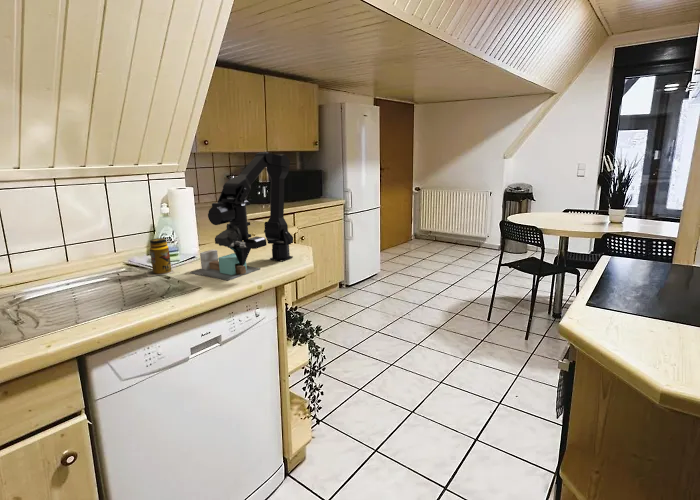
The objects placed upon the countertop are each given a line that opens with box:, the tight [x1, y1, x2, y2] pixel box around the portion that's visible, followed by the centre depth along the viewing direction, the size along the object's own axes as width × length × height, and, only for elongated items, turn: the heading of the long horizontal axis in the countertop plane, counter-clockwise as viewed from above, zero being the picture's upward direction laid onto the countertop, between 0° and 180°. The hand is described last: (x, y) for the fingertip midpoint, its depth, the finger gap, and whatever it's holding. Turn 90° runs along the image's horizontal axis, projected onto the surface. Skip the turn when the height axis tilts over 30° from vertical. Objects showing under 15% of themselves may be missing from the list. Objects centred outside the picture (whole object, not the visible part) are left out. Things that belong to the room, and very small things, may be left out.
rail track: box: [189, 249, 261, 282], centre depth 142 cm, size 15×19×6 cm
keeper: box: [218, 252, 248, 275], centre depth 140 cm, size 7×6×5 cm
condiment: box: [144, 237, 175, 278], centre depth 141 cm, size 7×8×12 cm
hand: (242, 265), depth 137 cm, fingers closed
